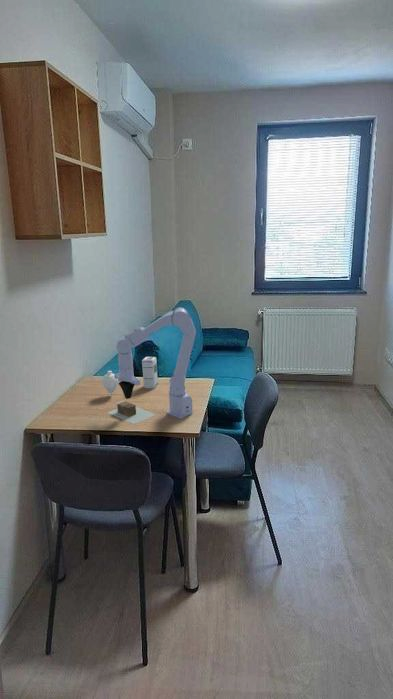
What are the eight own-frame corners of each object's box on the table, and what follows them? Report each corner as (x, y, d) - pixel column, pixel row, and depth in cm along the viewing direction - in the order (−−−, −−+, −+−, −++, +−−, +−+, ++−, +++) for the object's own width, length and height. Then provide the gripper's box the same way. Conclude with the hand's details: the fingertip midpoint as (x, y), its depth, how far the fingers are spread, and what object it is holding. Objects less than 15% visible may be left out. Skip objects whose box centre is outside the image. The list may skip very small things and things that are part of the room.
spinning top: (102, 393, 216) (100, 369, 212) (118, 391, 218) (116, 367, 215) (104, 399, 209) (102, 374, 205) (121, 397, 211) (119, 372, 208)
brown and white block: (135, 405, 189) (123, 400, 194) (127, 408, 186) (116, 403, 192) (136, 414, 190) (124, 409, 196) (128, 417, 187) (116, 412, 193)
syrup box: (155, 388, 220) (153, 360, 217) (143, 388, 222) (141, 359, 218) (158, 384, 226) (156, 356, 222) (147, 384, 227) (145, 356, 223)
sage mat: (156, 415, 189) (156, 414, 189) (133, 425, 181) (133, 424, 181) (129, 405, 201) (129, 404, 201) (107, 413, 193) (106, 412, 193)
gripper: (107, 365, 187) (109, 396, 190) (129, 372, 177) (131, 405, 181) (121, 361, 192) (123, 392, 195) (143, 368, 182) (145, 400, 185)
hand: (128, 398), depth 188 cm, fingers closed
